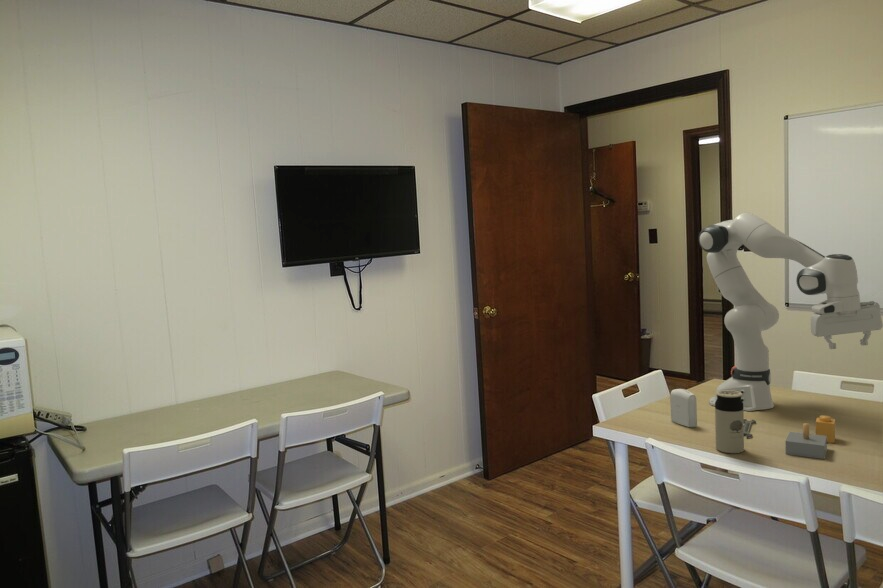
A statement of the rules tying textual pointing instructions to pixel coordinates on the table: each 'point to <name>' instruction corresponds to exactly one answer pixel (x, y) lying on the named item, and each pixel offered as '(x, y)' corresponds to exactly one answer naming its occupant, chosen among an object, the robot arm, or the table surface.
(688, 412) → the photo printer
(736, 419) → the travel mug
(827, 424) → the orange cube with knob
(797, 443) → the box
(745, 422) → the wrench
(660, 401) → the table surface
